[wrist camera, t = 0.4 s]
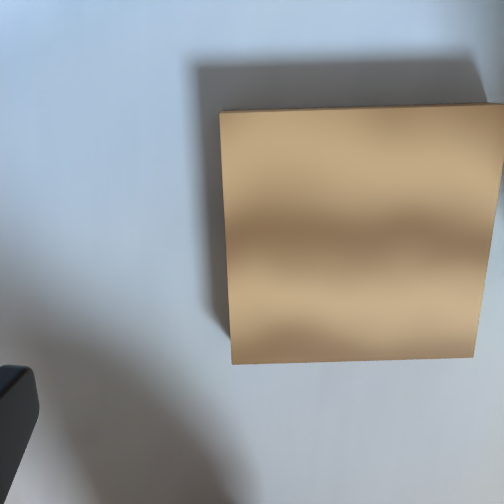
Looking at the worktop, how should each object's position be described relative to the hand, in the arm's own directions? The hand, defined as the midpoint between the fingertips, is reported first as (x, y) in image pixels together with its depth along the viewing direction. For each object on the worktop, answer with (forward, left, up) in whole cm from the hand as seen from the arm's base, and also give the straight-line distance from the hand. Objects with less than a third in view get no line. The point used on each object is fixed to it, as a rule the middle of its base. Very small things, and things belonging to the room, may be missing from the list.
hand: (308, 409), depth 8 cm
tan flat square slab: (-2, -4, -16) cm, 16 cm away
